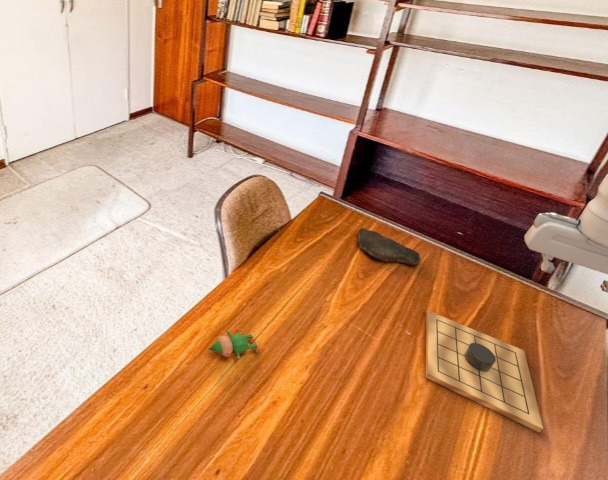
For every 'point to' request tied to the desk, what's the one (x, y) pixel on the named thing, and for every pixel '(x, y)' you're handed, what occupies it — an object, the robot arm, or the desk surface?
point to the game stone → (480, 357)
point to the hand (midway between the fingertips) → (575, 280)
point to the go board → (478, 384)
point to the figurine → (233, 344)
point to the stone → (386, 248)
